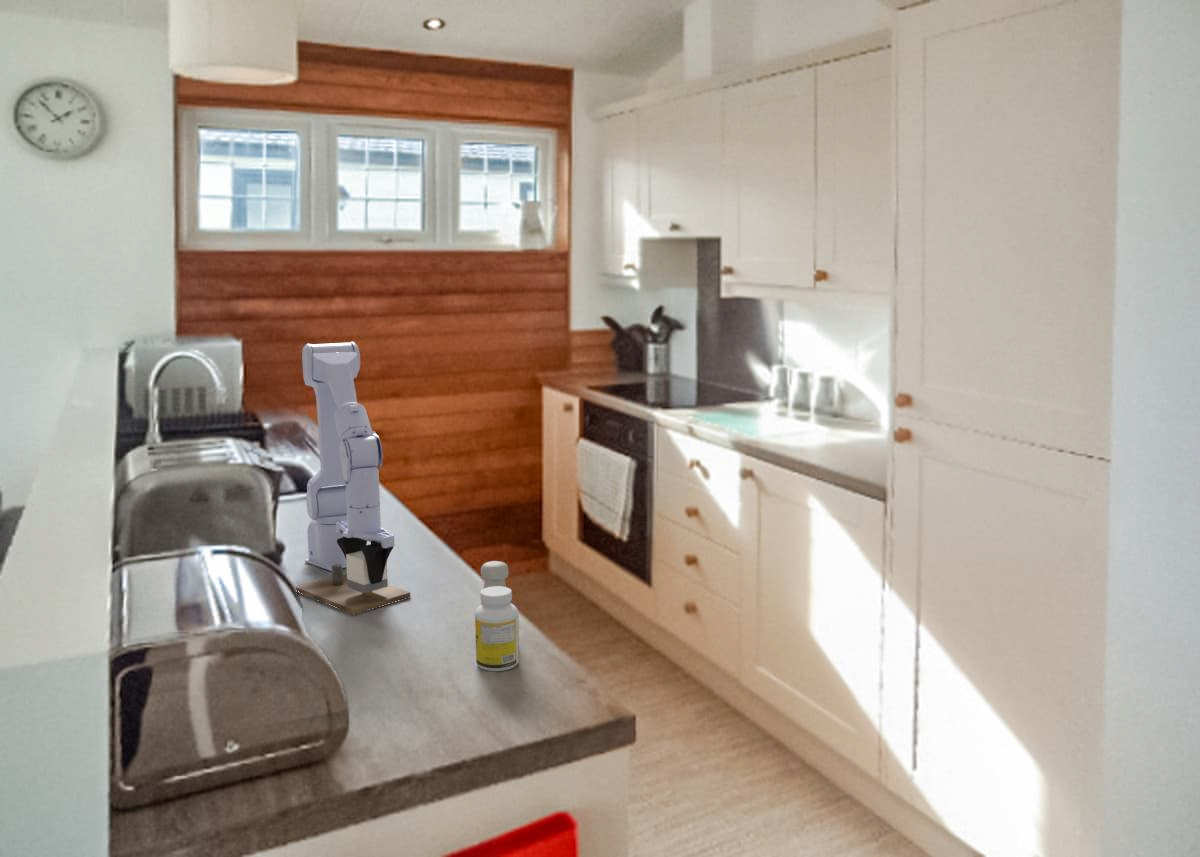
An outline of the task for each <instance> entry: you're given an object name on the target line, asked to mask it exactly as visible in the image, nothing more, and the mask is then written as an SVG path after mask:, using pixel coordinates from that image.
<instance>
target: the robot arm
mask: <svg viewBox="0 0 1200 857" xmlns="http://www.w3.org/2000/svg"><path fill="white" fill-rule="evenodd" d="M301 352H302V353H301V354H302V355H301V360H302V361H301V362H302V375H303V376H302V377H303V381H304V384H305V386H308V387H311V388H313V390H314V393H315V400H316V416H317V429H318V430H317V431H318V447H319V449H318V450H319V461H320V462H319V463H320V470H319V471H318V472H317V473H315V474H314V475H313V476H312V477H311V478H309V480H308V481H307V484H306V490H307V491H306V496H305V497H306V501H305V502H306V509H307V515H308V517H309V518H310V519H311V521H310V522H309V525H308V527H307V530H306V531H307V533H306V536H307V550H308V558H305V559H304V562H305V563H307V564H311V565H313V566H315V567H316V566H317V567H318V568H321V569H325V570H327V571H330V572H332V565H336V564H340V565H342V569H347V563H346V554H350V553H354V552H358V551H362V552H363V554H364V557H365V560H366V563H367V568H368V577H369V581H370V584H376V583H379V582H382V578H383V574H384V569H385V565H386V562H387V563H388V559H389V557H390V554H391V552H392V550H393V549H394V546H395V545H396V544H395V535H394V534H393V533H392V534H391V533H389V532H388V531H387V530H386V529H385V528H383V527H382V523H381V522H382V521H381V499H380V498H381V494H380V475H379V474H380V472H379V469H380V468H381V467H382V465H383V447H382V442H381V439H380V437H379V436H380V435H378V434H377V433H376V432H377V431H375V430H373V429H372V426H371V423H370V419H369V416H368V413H367V409H366V407H365V406H364V405H363V404H361V403H358V399H357V392H356V387H355V382H354V381H355V380H354V379H356V378H357V377H358V373H359V372H360V368H361V355H360V348H359V346H358V345H357V344H356V342H354V341H349V342H335V343H332V342H331V343H316V344H312V343H306V344H305V345H304V346H303V348H302V351H301ZM368 542H370V544H368Z"/></svg>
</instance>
